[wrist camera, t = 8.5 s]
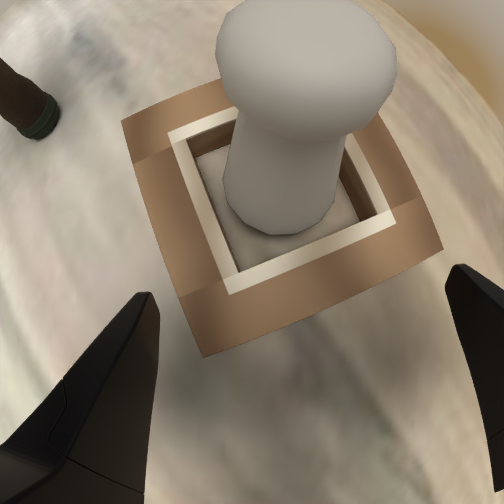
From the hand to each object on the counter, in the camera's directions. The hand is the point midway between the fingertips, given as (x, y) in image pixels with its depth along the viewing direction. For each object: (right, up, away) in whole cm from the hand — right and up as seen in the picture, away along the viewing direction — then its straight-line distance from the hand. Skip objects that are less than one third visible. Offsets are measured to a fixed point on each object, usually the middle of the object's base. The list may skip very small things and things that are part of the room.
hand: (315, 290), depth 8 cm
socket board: (0, +5, +10) cm, 11 cm away
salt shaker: (0, +4, +10) cm, 11 cm away
